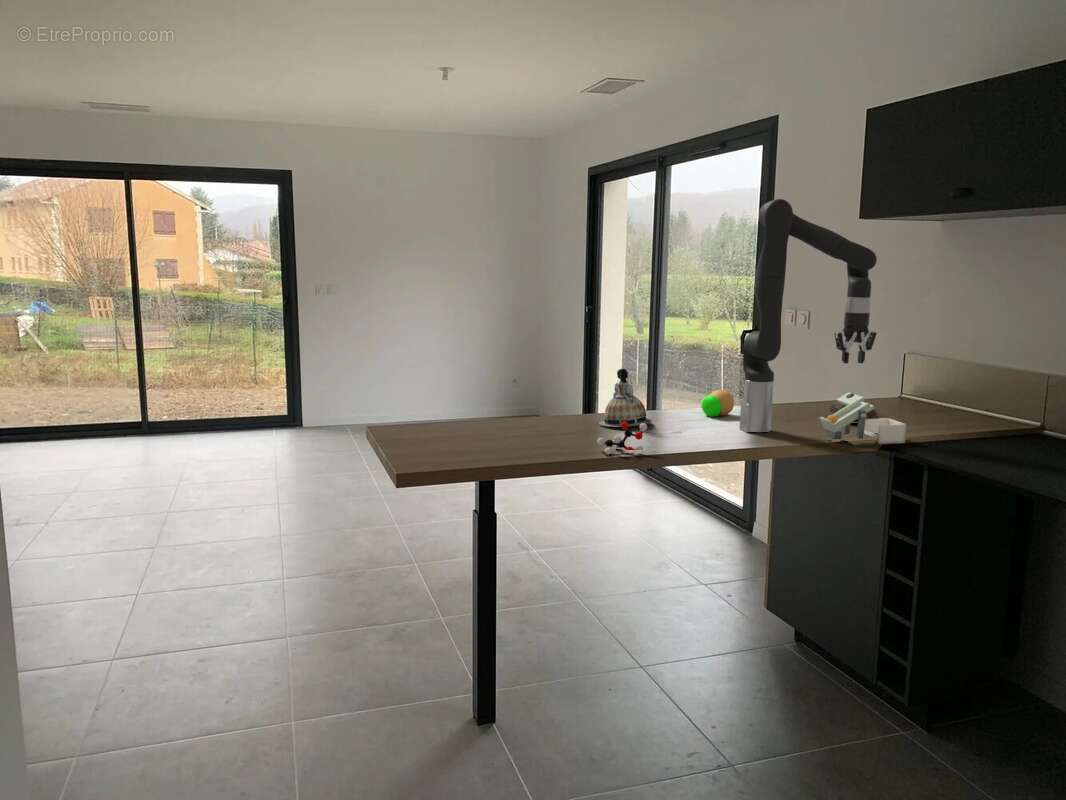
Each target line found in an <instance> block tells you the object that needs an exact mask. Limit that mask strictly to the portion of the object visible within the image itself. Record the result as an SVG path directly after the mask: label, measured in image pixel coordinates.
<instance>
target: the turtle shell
mask: <svg viewBox="0 0 1066 800" xmlns="http://www.w3.org/2000/svg"><path fill="white" fill-rule="evenodd" d="M860 403H861V402H860ZM844 407H845V404H842V403H839V402H838V401H835V402H832V403H830V404H829V405H828V406H827V408H828V410H829V411H830V413H831V415H833V414H834V413H836V412H838V411H839V410H841V409H843V408H844ZM866 415H867V417H866V418H865V419H882V418H883V417H884V416H883V415H882V414H880V413H879V412H877V411H876V409H875V408H874V409H872V410H871V411H869V412H867V413H866ZM858 419H859V418H858ZM858 419H856V420H854V421H853V422H858Z"/></svg>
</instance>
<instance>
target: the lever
mask: <svg viewBox="0 0 1066 800" xmlns="http://www.w3.org/2000/svg"><path fill="white" fill-rule="evenodd" d="M864 401H865V397H864V396H862V395H858V394H855V393H852V392H850V391H848V392H847V393H845V394H843V395H841V396H840V397H838V398H836V402H839V403H842V404H845V405H848V406H846V407H844V408H843V409H841V410H839V411H838V412H836V413H834V414H832V415H835V416H837V418H838V421H837V422H835V423H834V424H833V423H832V421H831V420H829V419H827V418H828V417H823V416H820V417H819V420H820V422H821V424H822V426H823V428H824V429H825V430H830V431H832V432H834V433H835V432H836V431H838V430H839V431H841V429H843V427H845V426H846V425H848V424H849V423H850V424H852V423H851V422H853V421H854V420H856V419H858V418H859V411H860V410H864V411H866V413H867V412H869V411H871V410H872V409H874V410H875V405H873V404H870V403H869V402H866V401H865V402H864ZM860 402H861V403H860Z"/></svg>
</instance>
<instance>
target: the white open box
mask: <svg viewBox="0 0 1066 800" xmlns="http://www.w3.org/2000/svg"><path fill="white" fill-rule="evenodd" d="M907 427H908V424H907V423H904V422H901V421H898V420H895V419H892V418H890V417H889V418H885V417H884V418H883V417H881V418H879V419H865V429H864V434H866V435H869V436H872V437H875V438H877V440H878V444H877V445H886V444H887V445H889V444H905V443H906V437H907ZM874 433H878V435H876V434H874Z"/></svg>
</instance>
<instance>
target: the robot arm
mask: <svg viewBox="0 0 1066 800" xmlns="http://www.w3.org/2000/svg"><path fill="white" fill-rule="evenodd" d="M758 220H759V221H760V223H761V225H762V226H763V227H764V236H763V237H764V238H763V240H764V241H763V245H762V250H761V252H760V256H759V259H758V262H757V266H756V271H755V278H754V289H753V290H754V296H755V297H754V298H755V300H756V304H757V307H758V310H759V311H758V312H759V317H760V318H759V319H760V322H759V330H754V331H751V332H750V333H748V334H747V335H746V337H745V338H744V341H743V347H742V348H743V349H742V355H743V356H742V369H743V373H744V387H743V388H744V389H743V400H742V401H741V402H740V413H739V414H740V415H739V416H740V418H739V429H740V430H742V431H744V432H745V433H747V432H768V433H770V432H771V426H772V414H773V413H772V412H773V410H772V409H773V398H774V396H773V395H774V380H775V378H774V377H775V373H774V371H773V370H772V369H771V367H770V366H769V362H772V361H774V360H776V358H777V357H778V356H779V353H780V351H781V346H782V314H783V313H782V312H783V301H784V300H783V298H784V291H785V281H786V271H787V270H786V269H787V257H788V256H787V253H788V241H789V237H793V238H795V239H798V240H799V241H800V242H803V243H805V244H807V245H809V246H811V247H812V248H813V249H815V250H818V251H819V252H822V253H823V254H825V255H826V256H830V257H831V258H832V259H833V258H834V259H836V260H840V261H843V262H845V263H846V272H847V282H848V283H847V292H846V293H847V294H846V300H845V305H844V306H845V308H844V318H843V319H844V320H843V325H844V327H843V329H842V330H841V331H835V332H834V340H835V344H836V349H837V350H839V351H841V353H842V354H841V361H842V363H843V364H849V362H850V361H849V360H850V359H849V358H850V349H851V347H852V346H853V345H854V343H856V345H858V346H857V347H858V350H859V351H858V352H857V353H858V354H857V363H858V364H864V362H865V357H866V352H867V351H871V350H872V349H873V345H874V343H875V340H876V337H877V332H875V331H871V330H869V325H870V313H871V306H872V304H871V294H872V293H871V292H872V281H871V280H870V278H869V271H870V270H872V269H873V268H874V267H875V266H876V264H877V261H878V259H877V255H876V253H875V252H874V251H873V250H872V249H871V248H868V247H866V246H864V245H862V244H859V243H856V242H855V241H851V240H850V239H847V238H846V237H844V236H842V235H841V234H839V233H836V232H834V231H833V230H832V229H831V230H830V229H828V228H826V227H824V226H820V225H818V224H815V223H813V222H810V221H808V220H805V219H803V218H801V217H799V216H798V215H796V214H795V213H794V211H793V208H792V205H791V204H790V202H789V201H787V200H785V199H782V198H776V199H773V200H770V201H767V202H766V203H764V204H763V205H762V206H761V207H760V209H759V212H758ZM844 337H845V338H844ZM843 339H844V340H843ZM769 431H770V432H769Z"/></svg>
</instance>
